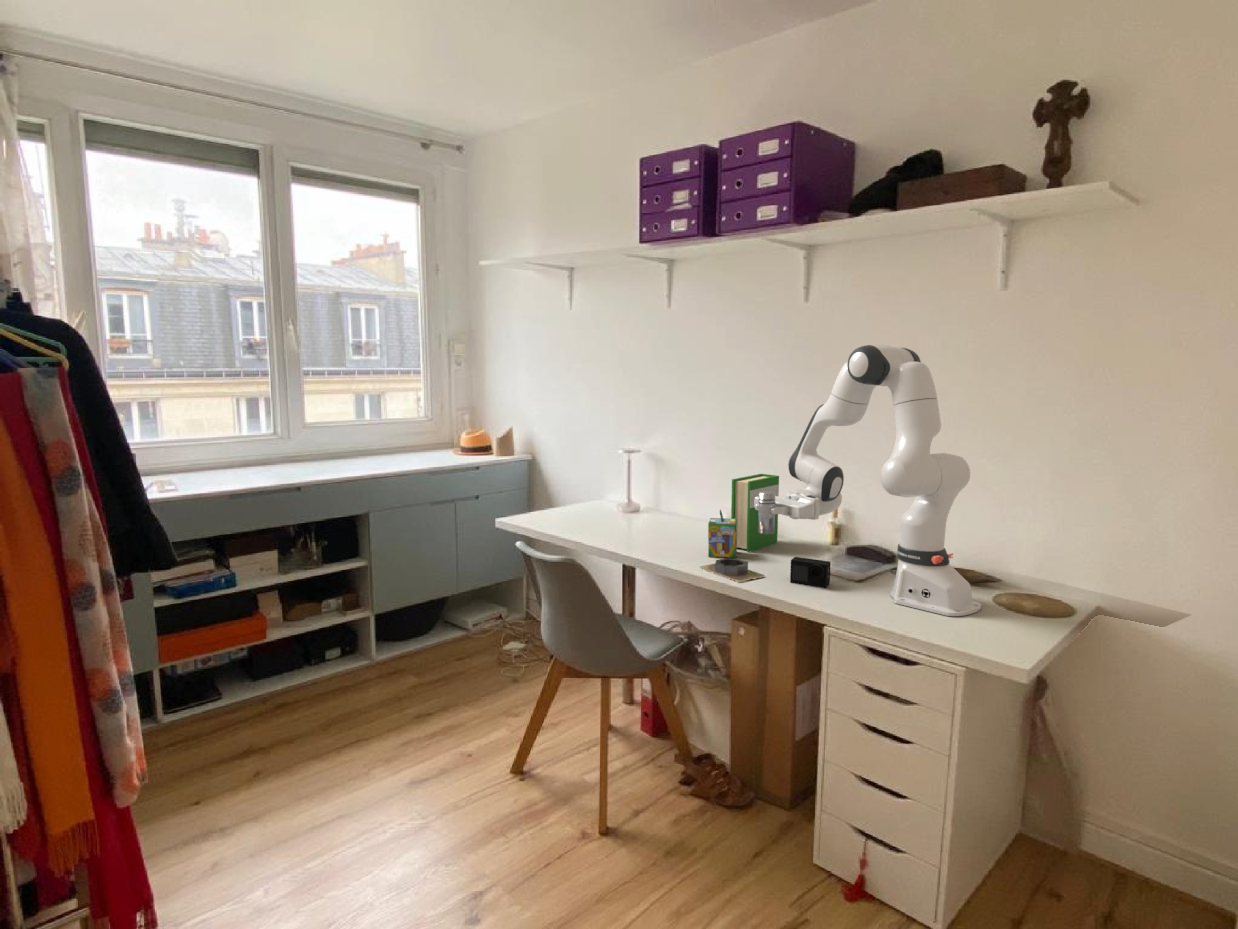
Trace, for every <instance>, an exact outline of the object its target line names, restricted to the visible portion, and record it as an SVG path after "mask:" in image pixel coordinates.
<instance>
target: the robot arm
mask: <svg viewBox="0 0 1238 929" xmlns="http://www.w3.org/2000/svg"><path fill="white" fill-rule="evenodd" d="M921 361H922V360H921V358H920V357H919V355H918V354H917V352H915V351H914V350H911V349H910V348H906V347H896V346H891V345H885V344H884V345H883V344H881V345H878V344H877V345H873V344H871V345H870V344H867V345H862V346H859V347H857V348H855V349H854V350H852V351H851V353H850V354H849V356H848V359H847V361H846V362H845V363H844V364H843V366H842V367H841V369H840V370H839V373H838V374H837V377H836V379H835V382H834V383H833V386H832V389H831V392H830V395H829V397H828V399H827V401H826V402H824V404H821V405H819V406H818V407H817V408H816V410H815V411H814V413H813V415H812V416H811V418H810V420H809V422H808V424H807V426H806V427H805V431H804V433H803V435H802V436H801V438H800V441H799V443H798V444H797V447H796V448H795V450H794V451H793V453H792V454H791V456H790V457H789V459H788V464H787V465H788V466H787V467H788V473H789V474H790V477H792V478H793V479H797V480H799V481H801V482H803V483H804V484H806V485H807V487H806V488H802V489H795V490H790V491H788V492H786V494H785V496H784V497H783V496H779V497H778V496H775V507H773V508H770V513H771V514H778V515H782V516H787V517H789V518H791V519H793V520H812V521H813V520H818V519H819V516H823V515H827V514H831V513H833V512H834V511H836V510H837V509H838V508H839V507H840V506H841V504H842V502H843V497H842V493H841V492H842V489H843V486H844V481H845V480H844V478H845V477H844V473H843V470H842V468H841V467H840V466H838V465H836V464H835V463H833V462H831V461H830V460H828V459H826V458H824V457H822V456H821V455H819V454H818V452H817V448H818V446H819V444H820V442H821V440H822V438H823V436H824V434H825V432H826V430H827V429H828V428H830V427H833V426H834V427H849V426H852V425H854V424H857V423H859V422H860V421H861V420H862V419H863V418H864V416H865V414H866V411H867V409H868V406H869V403H870V399H871V396H872V394H873V391H874V389H875V388H876V387H877V386H881V387H888V388H889V390H890V393H891V397H892V406H893V415H894V422H895V442H894V447H893V450H892V453H891V454H890V457H889V458H888V459H887V460H886V462H885V463H884V464H883V466H882V468H881V470H880V483H881V485H882V488H884V491H886V493H888V494H889V495H892V496H895V497H903V498H914V500H913V503H912V504H911V506H910V507H909V508H908V509H907V510H905V512H903V514H902V515H901V518H900V528H899V529H900V530H899V544H898V545H897V551H896V560H897V566H896V567H897V568H896V572H895V573H896V574H895V578H894V582H893V586H892V589H891V591H890V597H892V599H893V602H894V603H895V604H897V605H901V606H905V607H910V608H914V609H918V610H921V611H927V612H931V613H934V614H938V615H942V616H947V617H961V616H967V615H971V614H975V613H977V612H979V611H980V610H981V609H982V604H981V603H980V602H978V601H976V600H973V595H972V594H973V592H972V588H971V587H972V586H971V584H970V582H969V581H967V580H966V579H965V578H964V577H963V576H962V575H961V574H960V573H959V572H958V571H957V570H956V569H955V568H954V567H953V566H952V565H951V564H950V562H951V561H950V559H953V558H954V556H953V555H954V553H947V550H946V548H945V539H946V528H947V520H948V517H949V513H950V510H951V509H952V506H953V504H954V501H955V499H956V498H957V496H958V495H959V493H960V492H961V491H962V490H963V489H964V488H966V486H967V485H968V484H969V482H970V479H971V469H970V465H969V464H968V462H967V460H965V458H963V457H962V456H960V455H957V454H956V455H955V454H951V453H945V452H940V453H939V452H938V453H931V445H932V442H933V439H934V438H935V437H936V436H937V435H938V434H939V433H940V431H941V429H942V422H941V413H940V409H939V407H940V406H939V403H938V402H939V400H938V396H937V395H938V394H937V391H936V390H937V389H936V386H935V383H934V379H933V375H932V373H931V371H930V368H929V367H928V366H927V364H926V363H923V362H921ZM758 501H759V496H757V497H755V499H754V507H755V509H756V510H758V508H759V503H758Z"/></svg>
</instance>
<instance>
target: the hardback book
mask: <svg viewBox="0 0 1238 929" xmlns="http://www.w3.org/2000/svg"><path fill="white" fill-rule="evenodd" d="M779 488H780V475H775V474H767V473H757V474H752V475H748V476H741V477H737V478H731V509H730V510H731V511H730V513H731V514H730V516H731V517H730V519H737V549H738V548H739V549H744V550H746V553H750V551H751V552H753V551H757V550H760V549H763V548H767V547H769V545H770V546H773V545H777V543H778V528H779V527H778V525H779V514H775V529H774V533H773V534H761V533H758V510H756V509H755V507H754V499H755V497H757V496H759V492H762V491H770V492H775V496H778V497H780V496H779V492H780V491H779ZM772 544H773V545H772ZM759 548H760V549H759Z"/></svg>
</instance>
